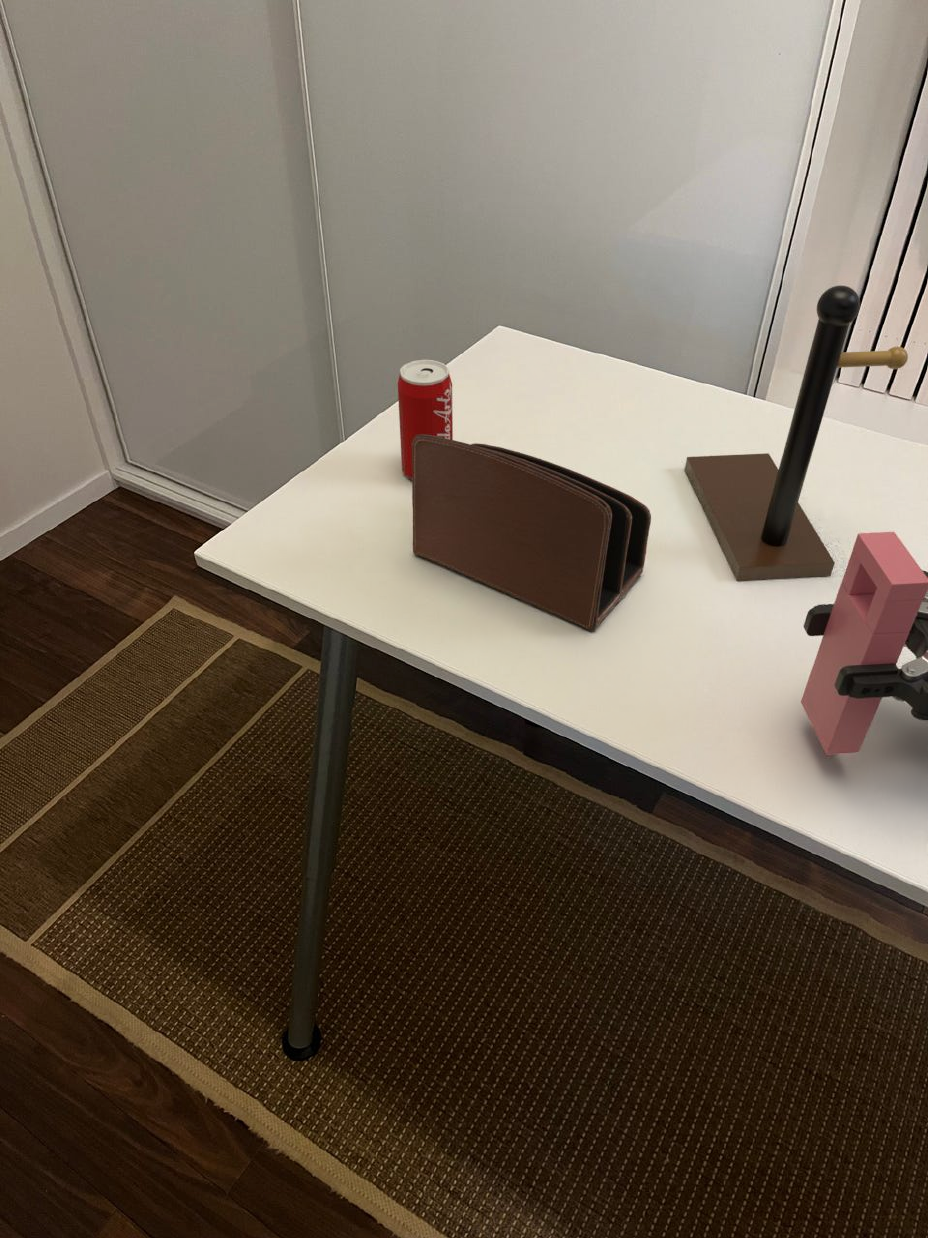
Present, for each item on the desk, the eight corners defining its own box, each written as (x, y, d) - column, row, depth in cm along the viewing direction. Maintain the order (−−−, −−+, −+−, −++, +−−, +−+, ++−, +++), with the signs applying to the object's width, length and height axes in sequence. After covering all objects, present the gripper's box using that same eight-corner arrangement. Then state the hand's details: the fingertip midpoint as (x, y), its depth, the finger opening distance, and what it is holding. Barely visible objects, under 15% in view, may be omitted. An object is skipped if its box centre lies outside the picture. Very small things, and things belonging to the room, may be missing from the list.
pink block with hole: (831, 699, 73) (894, 531, 62) (859, 753, 69) (931, 582, 58) (800, 701, 73) (857, 533, 62) (825, 755, 69) (892, 584, 58)
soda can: (441, 489, 99) (439, 385, 91) (393, 479, 100) (387, 376, 92) (460, 462, 103) (459, 360, 95) (413, 453, 104) (409, 352, 96)
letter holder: (593, 634, 82) (610, 501, 73) (411, 555, 90) (405, 426, 81) (644, 574, 88) (665, 444, 79) (469, 505, 97) (469, 380, 87)
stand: (788, 464, 102) (856, 217, 85) (857, 574, 88) (955, 305, 71) (684, 469, 102) (730, 220, 84) (736, 581, 88) (805, 310, 70)
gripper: (1022, 534, 69) (799, 545, 68) (1143, 670, 59) (881, 686, 58) (984, 611, 74) (776, 622, 73) (1090, 749, 64) (847, 765, 63)
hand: (823, 650), depth 66 cm, fingers closed on pink block with hole, 5 cm apart
